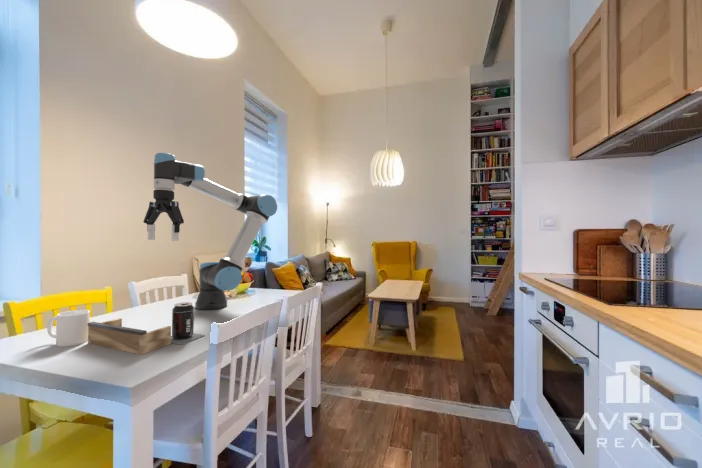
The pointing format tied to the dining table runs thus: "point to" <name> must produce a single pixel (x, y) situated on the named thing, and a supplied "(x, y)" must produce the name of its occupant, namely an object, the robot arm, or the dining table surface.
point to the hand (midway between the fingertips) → (162, 240)
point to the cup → (70, 327)
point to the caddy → (127, 337)
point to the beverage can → (182, 320)
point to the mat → (183, 341)
